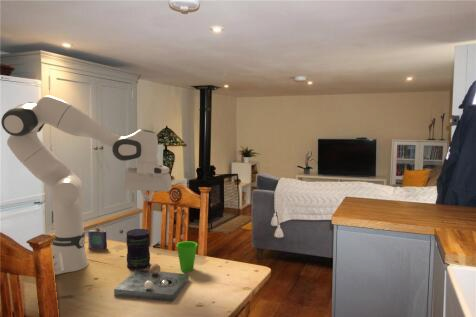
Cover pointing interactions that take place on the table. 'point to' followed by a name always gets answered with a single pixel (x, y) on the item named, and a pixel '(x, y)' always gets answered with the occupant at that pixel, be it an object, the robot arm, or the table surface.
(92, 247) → the flask
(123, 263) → the table surface
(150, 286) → the plastic ball
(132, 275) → the plate
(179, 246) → the cup
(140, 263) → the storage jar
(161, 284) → the steel ball
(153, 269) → the wood ball
